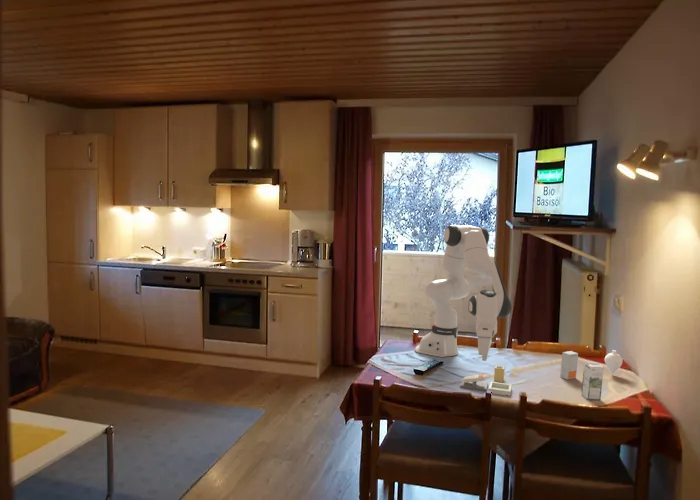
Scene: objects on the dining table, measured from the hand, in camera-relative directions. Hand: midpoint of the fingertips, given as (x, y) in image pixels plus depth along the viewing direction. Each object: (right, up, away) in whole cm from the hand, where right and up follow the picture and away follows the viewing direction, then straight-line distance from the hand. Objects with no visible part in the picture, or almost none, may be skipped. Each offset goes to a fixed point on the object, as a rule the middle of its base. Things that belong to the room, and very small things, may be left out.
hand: (484, 359), depth 237 cm
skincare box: (+43, -12, +18) cm, 48 cm away
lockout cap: (+9, -12, +12) cm, 19 cm away
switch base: (-4, -12, +3) cm, 13 cm away
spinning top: (+66, -12, +24) cm, 72 cm away
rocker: (-4, -9, +2) cm, 10 cm away
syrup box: (+43, -15, -6) cm, 46 cm away
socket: (+6, -13, -2) cm, 14 cm away
